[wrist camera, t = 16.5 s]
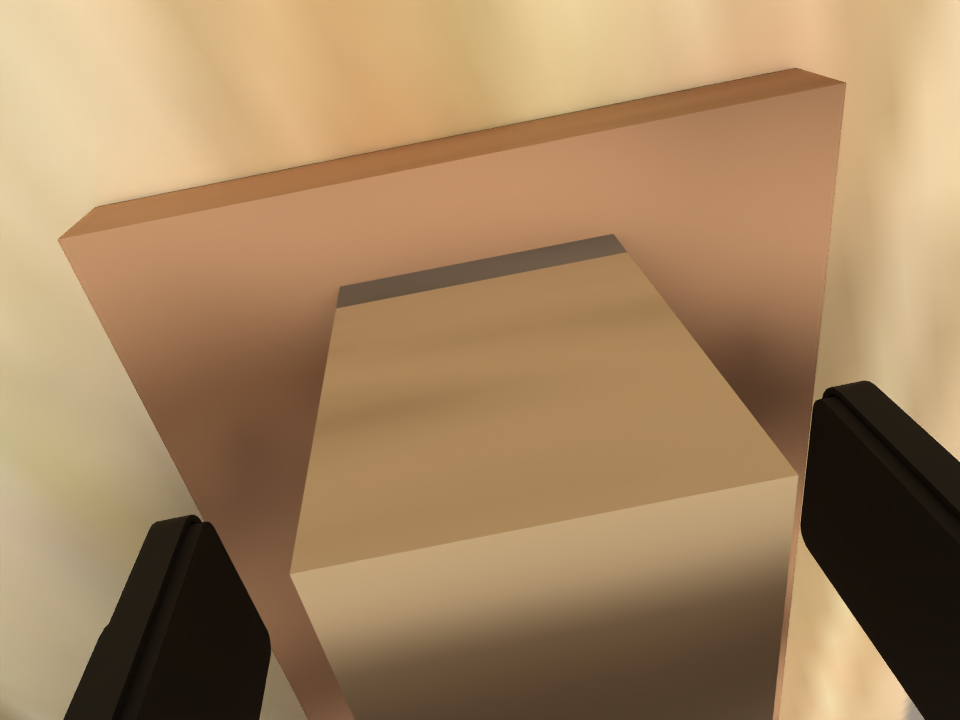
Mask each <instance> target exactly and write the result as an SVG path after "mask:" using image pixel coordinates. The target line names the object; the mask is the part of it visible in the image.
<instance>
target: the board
mask: <svg viewBox="0 0 960 720" xmlns="http://www.w3.org/2000/svg"><path fill="white" fill-rule="evenodd" d="M845 90H846V83H845V82H842V81H839V80H835V79H832V78H828V77H825V76H822V75H818V74H815V73H811V72H808V71H805V70H801V69H798V68H794V69H789V70H784V71H779V72H774V73H769V74H764V75H759V76H754V77H749V78H744V79H739V80H734V81H729V82H724V83H719V84H714V85H709V86H704V87H699V88H694V89H689V90H684V91H679V92H674V93H669V94H663V95H658V96H653V97H648V98H643V99H638V100H633V101H628V102H623V103H618V104H613V105H608V106H603V107H598V108H593V109H588V110H583V111H578V112H573V113H568V114H563V115H558V116H553V117H548V118H543V119H538V120H533V121H528V122H523V123H518V124H513V125H508V126H503V127H497V128H492V129H487V130H482V131H477V132H472V133H467V134H462V135H457V136H452V137H447V138H442V139H437V140H432V141H427V142H422V143H417V144H412V145H407V146H402V147H397V148H392V149H387V150H382V151H377V152H372V153H367V154H362V155H357V156H352V157H347V158H341V159H336V160H331V161H326V162H321V163H316V164H311V165H306V166H301V167H296V168H291V169H286V170H281V171H276V172H271V173H266V174H261V175H256V176H251V177H246V178H241V179H236V180H231V181H226V182H221V183H216V184H211V185H206V186H201V187H196V188H191V189H186V190H181V191H175V192H170V193H165V194H160V195H155V196H150V197H145V198H140V199H135V200H130V201H125V202H120V203H115V204H110V205H105V206H100V207H95V208H94V209H93V210H92V211H91V212H89V213H88V214H87V215H86V216H85V217H83V218H82V219H81V220H80V221H79V222H78V223H76V224H75V225H74V226H73V227H72V228H70V229H69V230H68V231H67V232H66V233H65V234H63V235H62V236H61V237H60V238H59V239H58V242H59V244H60V245H61V247H62V249H63V251H64V253H65V255H66V257H67V259H68V261H69V263H70V265H71V266H72V268H73V270H74V272H75V274H76V276H77V278H78V280H79V282H80V284H81V286H82V288H83V289H84V291H85V293H86V295H87V297H88V299H89V301H90V303H91V305H92V307H93V309H94V310H95V312H96V314H97V316H98V318H99V320H100V322H101V324H102V326H103V328H104V330H105V331H106V333H107V335H108V337H109V339H110V341H111V343H112V345H113V347H114V349H115V351H116V352H117V354H118V356H119V358H120V360H121V362H122V364H123V366H124V368H125V370H126V372H127V373H128V375H129V377H130V379H131V381H132V383H133V385H134V387H135V389H136V391H137V393H138V395H139V396H140V398H141V400H142V402H143V404H144V406H145V408H146V410H147V412H148V414H149V416H150V417H151V419H152V421H153V423H154V425H155V427H156V429H157V431H158V433H159V435H160V437H161V438H162V440H163V442H164V444H165V446H166V448H167V450H168V452H169V454H170V456H171V458H172V459H173V461H174V463H175V465H176V467H177V469H178V471H179V473H180V475H181V477H182V479H183V480H184V482H185V484H186V486H187V488H188V490H189V492H190V494H191V496H192V498H193V500H194V502H195V503H196V505H197V507H198V509H199V511H200V513H201V515H202V517H203V519H204V521H205V522H210V523H211V524H212V525H213V526H214V528H215V530H216V532H217V534H218V535H219V537H220V539H221V541H222V543H223V545H224V547H225V549H226V551H227V553H228V555H229V557H230V559H231V561H232V563H233V565H234V566H235V568H236V570H237V572H238V574H239V576H240V578H241V580H242V582H243V584H244V586H245V588H246V590H247V592H248V594H249V595H250V597H251V599H252V601H253V603H254V605H255V607H256V609H257V611H258V613H259V615H260V617H261V619H262V621H263V623H264V625H265V626H266V628H267V630H268V633H269V637H270V642H271V649H272V651H273V652H274V654H275V656H276V658H277V660H278V662H279V664H280V666H281V668H282V670H283V672H284V673H285V675H286V677H287V679H288V681H289V683H290V685H291V687H292V689H293V691H294V693H295V694H296V696H297V698H298V700H299V702H300V704H301V706H302V708H303V710H304V712H305V714H306V716H307V717H308V719H309V720H355V719H354V717H353V715H352V713H351V710H350V708H349V706H348V704H347V701H346V699H345V697H344V695H343V692H342V690H341V688H340V686H339V684H338V681H337V679H336V677H335V675H334V672H333V670H332V668H331V666H330V663H329V661H328V659H327V657H326V655H325V652H324V650H323V648H322V646H321V643H320V641H319V639H318V637H317V634H316V632H315V630H314V628H313V626H312V623H311V621H310V619H309V617H308V614H307V612H306V610H305V608H304V605H303V603H302V601H301V599H300V596H299V594H298V592H297V590H296V588H295V585H294V583H293V581H292V579H291V576H290V569H291V563H292V558H293V552H294V546H295V540H296V535H297V529H298V523H299V518H300V512H301V506H302V500H303V495H304V489H305V483H306V478H307V472H308V466H309V460H310V455H311V449H312V443H313V437H314V432H315V426H316V420H317V415H318V409H319V403H320V397H321V392H322V386H323V380H324V375H325V369H326V363H327V357H328V352H329V346H330V340H331V334H332V329H333V323H334V317H335V312H336V306H337V300H338V294H339V289H340V286H346V285H351V284H356V283H361V282H366V281H372V280H377V279H382V278H387V277H392V276H397V275H403V274H408V273H413V272H418V271H423V270H428V269H434V268H439V267H444V266H449V265H454V264H459V263H465V262H470V261H475V260H480V259H485V258H491V257H496V256H501V255H506V254H511V253H516V252H522V251H527V250H532V249H537V248H542V247H547V246H553V245H558V244H563V243H568V242H573V241H578V240H584V239H589V238H594V237H599V236H604V235H610V234H614V235H615V237H616V238H617V239H618V241H619V242H620V243H621V245H622V246H623V247H624V248H625V250H626V251H627V252H628V254H629V255H630V256H631V258H632V259H633V260H634V261H635V263H636V264H637V265H638V267H639V268H640V269H641V271H642V272H643V273H644V275H645V276H646V277H647V278H648V280H649V281H650V282H651V284H652V285H653V286H654V288H655V289H656V290H657V291H658V293H659V294H660V295H661V297H662V298H663V299H664V301H665V302H666V303H667V304H668V306H669V307H670V308H671V310H672V311H673V312H674V314H675V315H676V316H677V317H678V319H679V320H680V321H681V323H682V324H683V325H684V327H685V328H686V329H687V331H688V332H689V333H690V334H691V336H692V337H693V338H694V340H695V341H696V342H697V344H698V345H699V346H700V347H701V349H702V350H703V351H704V353H705V354H706V355H707V357H708V358H709V359H710V360H711V362H712V363H713V364H714V366H715V367H716V368H717V370H718V371H719V372H720V374H721V375H722V376H723V377H724V379H725V380H726V381H727V383H728V384H729V385H730V387H731V388H732V389H733V390H734V392H735V393H736V394H737V396H738V397H739V398H740V400H741V401H742V402H743V403H744V405H745V406H746V407H747V409H748V410H749V411H750V413H751V414H752V415H753V416H754V418H755V419H756V420H757V422H758V423H759V424H760V426H761V427H762V428H763V430H764V431H765V432H766V433H767V435H768V436H769V437H770V439H771V440H772V441H773V443H774V444H775V445H776V446H777V448H778V449H779V450H780V452H781V453H782V454H783V456H784V457H785V458H786V459H787V461H788V462H789V463H790V465H791V466H792V467H793V469H794V470H795V471H796V472H797V474H798V484H797V494H796V503H795V513H794V522H793V532H792V541H791V551H790V560H789V570H788V579H787V589H786V598H785V608H784V617H783V627H782V636H781V646H780V655H779V665H778V674H777V684H776V694H775V703H774V713H773V720H779V712H780V703H781V693H782V684H783V674H784V665H785V655H786V646H787V637H788V627H789V618H790V608H791V599H792V589H793V580H794V571H795V561H796V552H797V542H798V533H799V523H800V514H801V505H802V495H803V486H804V476H805V467H806V457H807V448H808V439H809V429H810V420H811V410H812V401H813V392H814V382H815V373H816V363H817V354H818V344H819V335H820V326H821V316H822V307H823V297H824V288H825V278H826V269H827V260H828V250H829V241H830V231H831V222H832V212H833V203H834V194H835V184H836V175H837V165H838V156H839V146H840V137H841V128H842V118H843V109H844V99H845Z"/></svg>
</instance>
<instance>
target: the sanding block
mask: <svg viewBox="0 0 960 720" xmlns="http://www.w3.org/2000/svg"><path fill="white" fill-rule="evenodd" d="M797 484H798V474H797V472H796V471H795V470H794V469H793V467H792V466H791V465H790V463H789V462H788V461H787V459H786V458H785V457H784V456H783V454H782V453H781V452H780V450H779V449H778V448H777V446H776V445H775V444H774V443H773V441H772V440H771V439H770V437H769V436H768V435H767V433H766V432H765V431H764V430H763V428H762V427H761V426H760V424H759V423H758V422H757V420H756V419H755V418H754V416H753V415H752V414H751V413H750V411H749V410H748V409H747V407H746V406H745V405H744V403H743V402H742V401H741V400H740V398H739V397H738V396H737V394H736V393H735V392H734V390H733V389H732V388H731V387H730V385H729V384H728V383H727V381H726V380H725V379H724V377H723V376H722V375H721V374H720V372H719V371H718V370H717V368H716V367H715V366H714V364H713V363H712V362H711V360H710V359H709V358H708V357H707V355H706V354H705V353H704V351H703V350H702V349H701V347H700V346H699V345H698V344H697V342H696V341H695V340H694V338H693V337H692V336H691V334H690V333H689V332H688V331H687V329H686V328H685V327H684V325H683V324H682V323H681V321H680V320H679V319H678V317H677V316H676V315H675V314H674V312H673V311H672V310H671V308H670V307H669V306H668V304H667V303H666V302H665V301H664V299H663V298H662V297H661V295H660V294H659V293H658V291H657V290H656V289H655V288H654V286H653V285H652V284H651V282H650V281H649V280H648V278H647V277H646V276H645V275H644V273H643V272H642V271H641V269H640V268H639V267H638V265H637V264H636V263H635V261H634V260H633V259H632V258H631V256H630V255H629V254H628V252H627V251H626V250H625V248H624V247H623V246H622V245H621V243H620V242H619V241H618V239H617V238H616V237H615V235H614V234H610V235H604V236H599V237H594V238H589V239H584V240H578V241H573V242H568V243H563V244H558V245H553V246H547V247H542V248H537V249H532V250H527V251H522V252H516V253H511V254H506V255H501V256H496V257H491V258H485V259H480V260H475V261H470V262H465V263H459V264H454V265H449V266H444V267H439V268H434V269H428V270H423V271H418V272H413V273H408V274H403V275H397V276H392V277H387V278H382V279H377V280H372V281H366V282H361V283H356V284H351V285H346V286H340V289H339V294H338V300H337V306H336V312H335V317H334V323H333V329H332V334H331V340H330V346H329V352H328V357H327V363H326V369H325V375H324V380H323V386H322V392H321V397H320V403H319V409H318V415H317V420H316V426H315V432H314V437H313V443H312V449H311V455H310V460H309V466H308V472H307V478H306V483H305V489H304V495H303V500H302V506H301V512H300V518H299V523H298V529H297V535H296V540H295V546H294V552H293V558H292V563H291V569H290V576H291V579H292V581H293V583H294V585H295V588H296V590H297V592H298V594H299V596H300V599H301V601H302V603H303V605H304V608H305V610H306V612H307V614H308V617H309V619H310V621H311V623H312V626H313V628H314V630H315V632H316V634H317V637H318V639H319V641H320V643H321V646H322V648H323V650H324V652H325V655H326V657H327V659H328V661H329V663H330V666H331V668H332V670H333V672H334V675H335V677H336V679H337V681H338V684H339V686H340V688H341V690H342V692H343V695H344V697H345V699H346V701H347V704H348V706H349V708H350V710H351V713H352V715H353V717H354V719H355V720H773V713H774V703H775V694H776V684H777V674H778V665H779V655H780V646H781V636H782V627H783V617H784V608H785V598H786V589H787V579H788V570H789V560H790V551H791V541H792V532H793V522H794V513H795V503H796V494H797Z"/></svg>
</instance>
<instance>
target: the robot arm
mask: <svg viewBox="0 0 960 720" xmlns="http://www.w3.org/2000/svg"><path fill="white" fill-rule="evenodd" d="M801 533H802V537H803V540H804V542H805V545H806V546H807V548H808V550H809V551H810V553H811V554H812V556H813V557H814V559H815V560H816V561H817V563H818V564H819V566H820V567H821V569H822V570H823V572H824V573H825V575H826V576H827V578H828V579H829V580H830V582H831V583H832V585H833V586H834V588H835V589H836V591H837V592H838V594H839V595H840V596H841V598H842V599H843V601H844V602H845V604H846V605H847V607H848V608H849V610H850V611H851V613H852V614H853V615H854V617H855V618H856V620H857V621H858V623H859V624H860V626H861V627H862V629H863V630H864V631H865V633H866V634H867V636H868V637H869V639H870V640H871V642H872V643H873V645H874V646H875V647H876V649H877V650H878V652H879V653H880V655H881V656H882V658H883V659H884V661H885V662H886V664H887V665H888V666H889V668H890V669H891V671H892V672H893V674H894V675H895V677H896V678H897V680H898V681H899V682H900V684H901V685H902V687H903V688H904V690H905V691H906V693H907V694H908V696H909V697H910V699H911V700H912V701H913V703H914V704H915V706H916V707H917V708H918V710H919V712H920V713H921V715H922V716H923V717H924V719H925V720H960V462H959V461H958V460H957V459H956V458H955V457H954V456H952V455H951V454H950V453H949V452H948V451H947V450H946V449H945V448H944V447H943V446H941V445H940V444H939V443H938V442H937V441H936V440H935V439H934V438H933V437H932V436H930V435H929V434H928V433H927V432H926V431H925V430H924V429H923V428H922V427H921V426H919V425H918V424H917V423H916V422H915V421H914V420H913V419H912V418H911V417H910V416H908V415H907V414H906V413H905V412H904V411H903V410H902V409H901V408H900V407H899V406H897V405H896V404H895V403H894V402H893V401H892V400H891V399H890V398H889V397H888V396H886V395H885V394H884V393H883V392H882V391H881V390H880V389H879V388H878V387H877V386H875V385H874V384H873V383H871V382H870V381H860V382H855V383H850V384H845V385H840V386H835V387H830V388H828V389H826V390H825V392H824V393H823V397H822V399H819V400H816V401H815V403H814V406H813V412H812V422H811V431H810V440H809V450H808V459H807V468H806V478H805V487H804V496H803V505H802V515H801ZM270 655H271V642H270V637H269V633H268V630H267V628H266V626H265V625H264V623H263V621H262V619H261V617H260V615H259V613H258V611H257V609H256V607H255V605H254V603H253V601H252V599H251V597H250V595H249V594H248V592H247V590H246V588H245V586H244V584H243V582H242V580H241V578H240V576H239V574H238V572H237V570H236V568H235V566H234V565H233V563H232V561H231V559H230V557H229V555H228V553H227V551H226V549H225V547H224V545H223V543H222V541H221V539H220V537H219V535H218V534H217V532H216V530H215V528H214V526H213V525H212V524H211V523H210V522H201V520H200V519H199V518H198V517H197V516H196V515H188V516H183V517H178V518H173V519H168V520H163V521H158V522H156V523H154V524H153V525H152V526H151V528H150V529H149V532H148V534H147V536H146V539H145V541H144V543H143V546H142V548H141V550H140V553H139V555H138V557H137V560H136V562H135V564H134V567H133V569H132V571H131V574H130V576H129V578H128V581H127V583H126V585H125V588H124V590H123V592H122V595H121V597H120V599H119V602H118V604H117V606H116V609H115V611H114V613H113V616H112V618H111V620H110V623H109V624H108V625H107V626H106V627H105V628H104V630H103V632H102V634H101V635H100V637H99V639H98V641H97V644H96V646H95V648H94V651H93V653H92V655H91V658H90V660H89V662H88V664H87V667H86V669H85V671H84V674H83V676H82V678H81V681H80V683H79V685H78V687H77V690H76V692H75V694H74V697H73V699H72V701H71V704H70V706H69V708H68V710H67V713H66V715H65V717H64V720H259V717H260V712H261V706H262V701H263V695H264V689H265V684H266V678H267V673H268V667H269V662H270Z"/></svg>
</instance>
